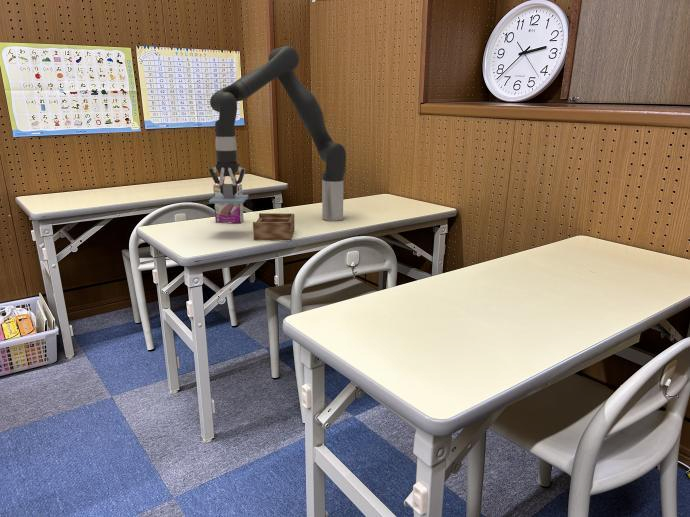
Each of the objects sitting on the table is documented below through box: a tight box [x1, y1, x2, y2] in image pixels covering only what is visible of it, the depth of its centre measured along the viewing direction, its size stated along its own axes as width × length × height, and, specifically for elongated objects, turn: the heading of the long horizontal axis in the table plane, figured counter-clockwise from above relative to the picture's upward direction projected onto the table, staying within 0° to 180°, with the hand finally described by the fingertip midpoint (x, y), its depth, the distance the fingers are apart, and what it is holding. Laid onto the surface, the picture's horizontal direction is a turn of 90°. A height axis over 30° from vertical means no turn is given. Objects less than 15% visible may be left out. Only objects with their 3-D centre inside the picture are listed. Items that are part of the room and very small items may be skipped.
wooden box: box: [252, 212, 296, 242], centre depth 194 cm, size 14×15×7 cm
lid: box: [208, 183, 249, 205], centre depth 190 cm, size 12×12×6 cm
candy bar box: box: [212, 182, 245, 224], centre depth 212 cm, size 11×5×16 cm, turn 84°
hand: (229, 194), depth 190 cm, fingers closed on lid, 3 cm apart
